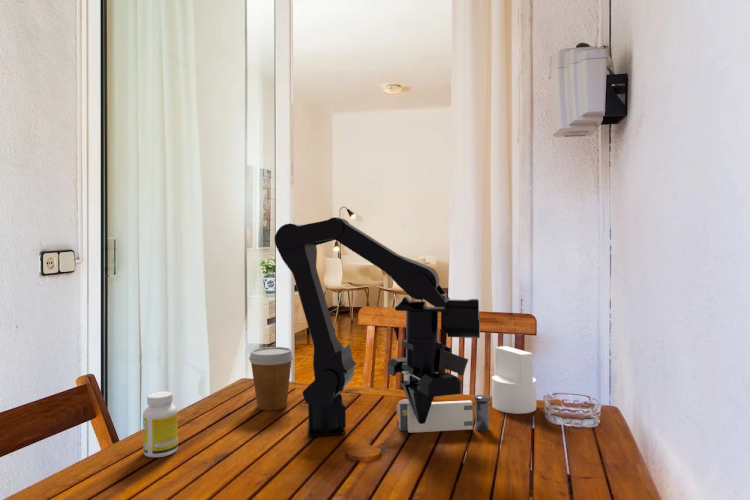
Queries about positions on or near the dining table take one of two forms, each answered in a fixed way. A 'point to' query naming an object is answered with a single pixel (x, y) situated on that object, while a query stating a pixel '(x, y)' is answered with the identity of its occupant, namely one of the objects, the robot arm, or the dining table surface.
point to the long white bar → (443, 417)
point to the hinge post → (482, 412)
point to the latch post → (403, 415)
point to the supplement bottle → (160, 425)
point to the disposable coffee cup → (271, 376)
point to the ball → (397, 406)
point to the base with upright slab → (514, 381)
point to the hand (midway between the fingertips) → (421, 423)
